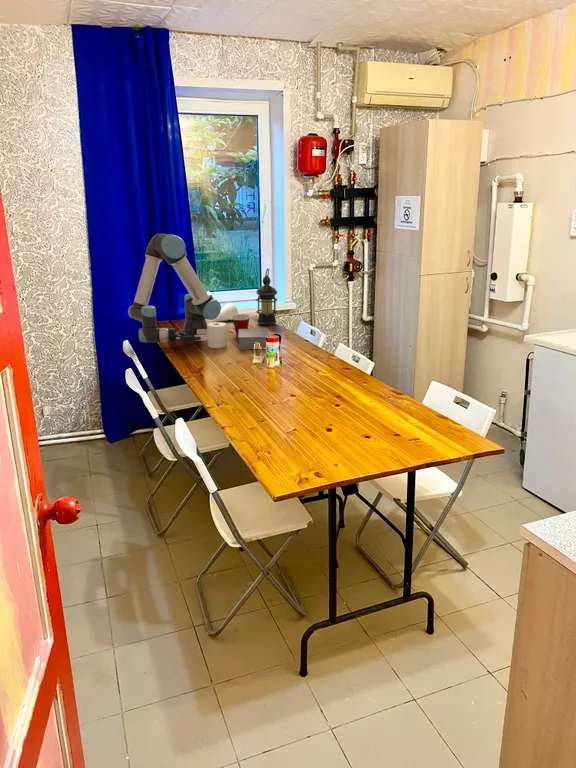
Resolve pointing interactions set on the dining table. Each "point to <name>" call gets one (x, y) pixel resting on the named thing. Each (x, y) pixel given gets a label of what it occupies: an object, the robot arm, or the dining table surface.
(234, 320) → the plastic cup
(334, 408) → the dining table surface
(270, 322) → the lantern
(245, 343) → the grey box
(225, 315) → the rocket engine
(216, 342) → the toilet paper
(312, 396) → the dining table surface
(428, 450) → the dining table surface
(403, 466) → the dining table surface
